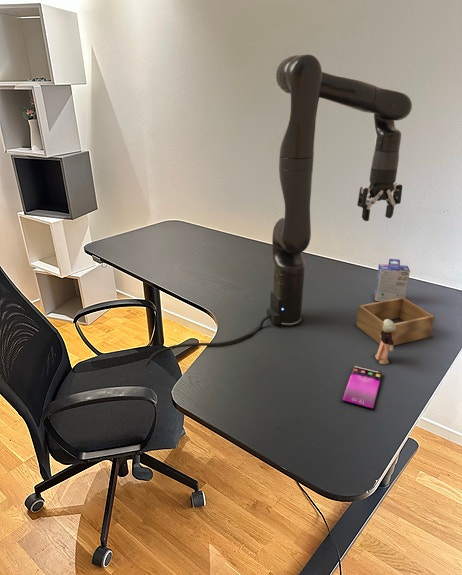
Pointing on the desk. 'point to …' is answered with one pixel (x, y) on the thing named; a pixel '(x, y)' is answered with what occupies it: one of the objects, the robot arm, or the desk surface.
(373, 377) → the smartphone
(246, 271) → the desk surface
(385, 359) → the grandmother figurine
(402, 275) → the ink cartridge box
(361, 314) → the birch box
